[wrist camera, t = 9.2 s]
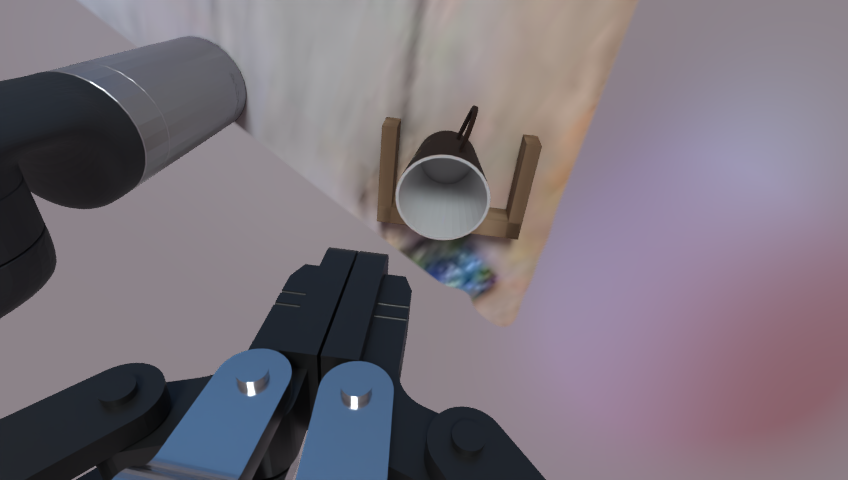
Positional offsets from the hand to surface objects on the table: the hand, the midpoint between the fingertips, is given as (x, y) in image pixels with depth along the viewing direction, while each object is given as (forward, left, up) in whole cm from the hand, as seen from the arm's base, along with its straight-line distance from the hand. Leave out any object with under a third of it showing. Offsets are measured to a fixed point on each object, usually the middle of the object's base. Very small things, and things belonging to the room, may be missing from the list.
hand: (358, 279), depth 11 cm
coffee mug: (+3, -10, -37) cm, 38 cm away
